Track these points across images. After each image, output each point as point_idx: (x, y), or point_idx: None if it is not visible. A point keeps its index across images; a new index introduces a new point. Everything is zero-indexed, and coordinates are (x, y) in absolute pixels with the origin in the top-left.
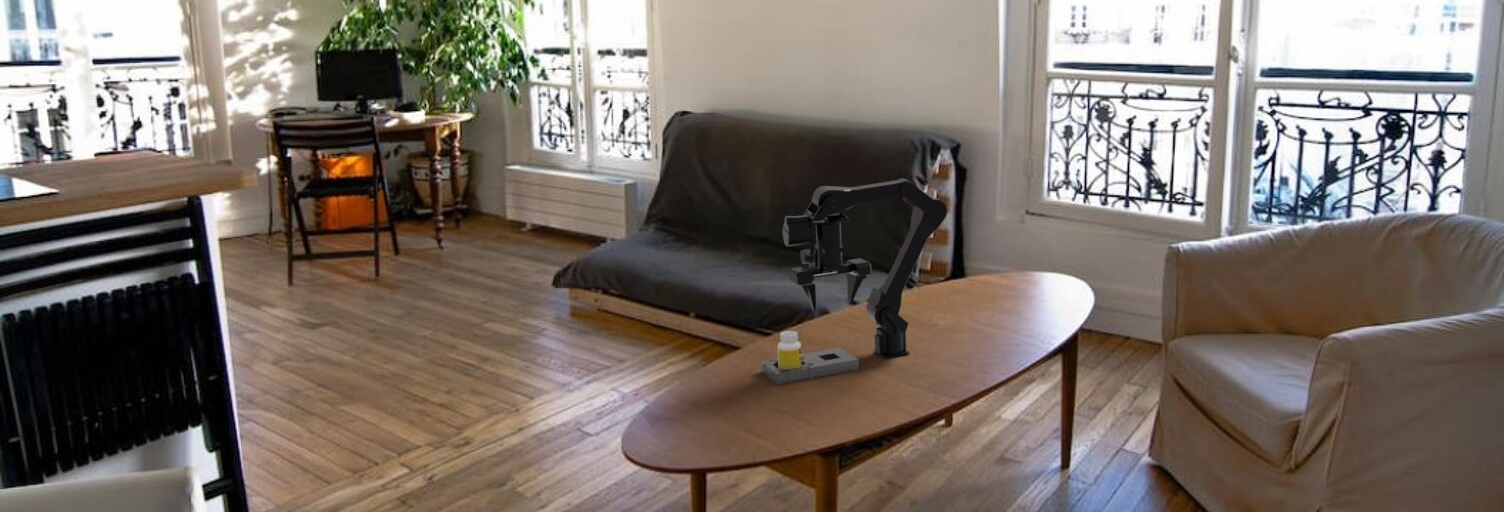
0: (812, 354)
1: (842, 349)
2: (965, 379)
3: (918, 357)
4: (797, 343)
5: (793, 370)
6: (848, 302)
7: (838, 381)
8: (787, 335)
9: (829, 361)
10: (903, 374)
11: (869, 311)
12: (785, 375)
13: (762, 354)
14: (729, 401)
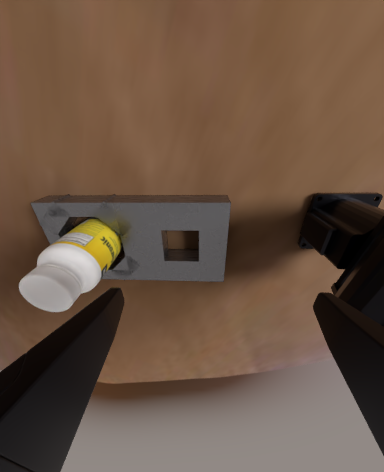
0: (152, 215)
1: (228, 217)
2: (313, 348)
3: None
4: (85, 289)
5: None
6: (323, 300)
7: (170, 292)
8: (42, 308)
9: (171, 268)
10: (265, 309)
11: (380, 273)
12: None
13: (45, 42)
14: (8, 288)
